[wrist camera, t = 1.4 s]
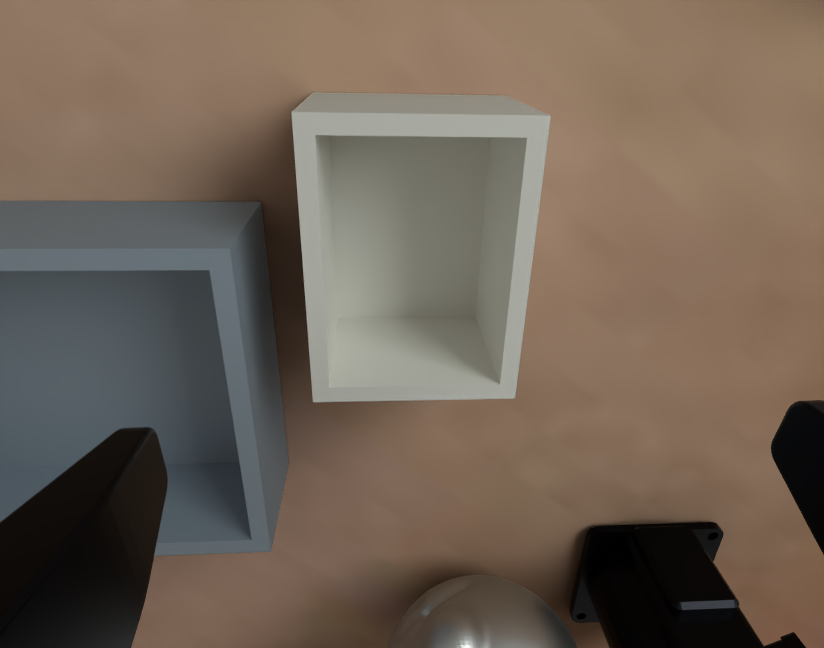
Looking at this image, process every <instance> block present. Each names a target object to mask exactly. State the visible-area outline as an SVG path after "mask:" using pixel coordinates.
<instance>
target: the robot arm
mask: <svg viewBox="0 0 824 648" xmlns="http://www.w3.org/2000/svg"><path fill="white" fill-rule="evenodd" d="M771 453H772V457H773V459H774V461H775V463H776V465H777V467H778V469H779V471H780V473H781V475H782V477H783V479H784V481H785V483H786V484H787V486H788V488H789V490H790V492H791V494H792V496H793V498H794V500H795V502H796V504H797V505H798V507H799V509H800V511H801V513H802V515H803V517H804V519H805V521H806V523H807V525H808V526H809V528H810V530H811V532H812V534H813V536H814V538H815V540H816V542H817V543H818V545H819V547H820V549H821V551H822V552H823V554H824V401H822V400H812V401H798V402H795V403H794V404H792V405H791V406H790V407H789V409H788V410H787V412H786V414H785V416H784V418H783V420H782V422H781V424H780V426H779V428H778V430H777V432H776V434H775V436H774V438H773V441H772V444H771ZM167 486H168V475H167V469H166V465H165V462H164V458H163V454H162V450H161V447H160V443H159V439H158V436H157V433H156V432H155V430H154V429H153V428H150V427H131V428H121V429H118V430H117V431H115V432H114V433H112V434H111V435H110V436H109V437H107V438H106V439H105V440H104V441H102V442H101V443H100V444H98V445H97V446H96V447H95V448H93V449H92V450H91V451H90V452H88V453H87V454H86V455H85V456H83V457H82V458H81V459H79V460H78V461H77V462H76V463H74V464H73V465H72V466H71V467H69V468H68V469H67V470H66V471H64V472H63V473H62V474H60V475H59V476H58V477H57V478H55V479H54V480H53V481H52V482H50V483H49V484H48V485H47V486H45V487H44V488H43V489H41V490H40V491H39V492H38V493H36V494H35V495H34V496H33V497H31V498H30V499H29V500H28V501H26V502H25V503H24V504H22V505H21V506H20V507H19V508H17V509H16V510H15V511H14V512H12V513H11V514H10V515H9V516H7V517H6V518H5V519H3V520H2V521H1V522H0V648H131V645H132V642H133V639H134V636H135V633H136V630H137V626H138V623H139V620H140V616H141V613H142V609H143V606H144V602H145V598H146V593H147V589H148V584H149V579H150V574H151V569H152V564H153V559H154V554H155V549H156V544H157V539H158V534H159V529H160V523H161V518H162V513H163V508H164V503H165V498H166V493H167ZM722 537H723V531H722V530H721V528H720V527H719V526H718V524H716V523H714V522H701V523H672V524H643V525H613V526H596V527H593V528H591V529H590V530H589V531H588V532H587V535H586V539H585V544H584V548H583V552H582V557H581V561H580V566H579V570H578V574H577V579H576V583H575V587H574V592H573V596H572V601H571V605H570V609H569V611H570V615H571V618H572V620H573V621H575V622H579V623H582V622H600V625H601V627H602V630H603V632H604V635H605V638H606V640H607V643H608V645H609V648H806V647H805V646H804V645H803V643H802V642H801V641H800V639H799V638H798V637H797V635H796V634H795V633H794V632H792V633H790V634H787V635H784V636H782V637H780V638H781V640H779V641H777V642H774V643H771V644H769V645H766V646H763V644H762V642H761V641H760V639H759V638H758V636H757V635H756V633H755V631H754V630H753V628H752V627H751V625H750V624H749V622H748V621H747V619H746V617H745V616H744V614H743V613H742V611H741V610H740V608H739V602H738V600H737V598H736V597H735V595H734V594H733V592H732V590H731V589H730V587H729V586H728V584H727V583H726V581H725V580H724V578H723V577H722V575H721V573H720V572H719V570H718V569H717V567H716V566H715V564H714V563H713V561H714V558H715V555H716V553H717V550H718V548H719V545H720V543H721V540H722Z"/></svg>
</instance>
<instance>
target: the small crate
mask: <svg viewBox="0 0 824 648" xmlns="http://www.w3.org/2000/svg"><path fill="white" fill-rule="evenodd" d="M291 113H292V126H293V140H294V153H295V167H296V180H297V194H298V207H299V221H300V234H301V248H302V261H303V275H304V288H305V301H306V315H307V328H308V342H309V355H310V369H311V382H312V396H313V402H351V401H404V400H457V399H510V398H515V394H516V386H517V378H518V370H519V362H520V354H521V346H522V338H523V330H524V322H525V314H526V307H527V299H528V291H529V283H530V275H531V267H532V259H533V251H534V243H535V235H536V227H537V219H538V212H539V204H540V196H541V188H542V180H543V172H544V164H545V156H546V148H547V140H548V132H549V125H550V117H551V116H550V115H548V114H546V113H544V112H541V111H539V110H537V109H535V108H532V107H530V106H528V105H526V104H524V103H521V102H519V101H517V100H515V99H512V98H510V97H508V96H505V95H442V94H380V93H318V92H313V93H312V94H310V95H309V96H308V97H307V98H306V99H305V100H304V101H303V102H302V103H301V104H300V105H299V106H297V107H296V108H295V109H294V110H293V111H292V112H291Z"/></svg>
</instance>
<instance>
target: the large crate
mask: <svg viewBox="0 0 824 648" xmlns="http://www.w3.org/2000/svg"><path fill="white" fill-rule="evenodd" d="M131 427H150V428H153V429H154V430H155V432H156V433H157V436H158V439H159V443H160V447H161V450H162V454H163V458H164V462H165V465H166V469H167V475H168V486H167V493H166V498H165V503H164V508H163V513H162V518H161V523H160V529H159V534H158V539H157V544H156V549H155V554H154V556H162V555H190V554H218V553H246V552H271V549H272V544H273V539H274V534H275V529H276V524H277V519H278V514H279V509H280V504H281V499H282V494H283V489H284V484H285V479H286V474H287V469H288V464H289V461H288V451H287V442H286V432H285V423H284V413H283V404H282V394H281V385H280V375H279V366H278V356H277V346H276V337H275V327H274V318H273V308H272V299H271V289H270V280H269V270H268V261H267V251H266V241H265V232H264V222H263V213H262V203H261V202H179V201H0V522H1V521H2V520H3V519H5V518H6V517H7V516H9V515H10V514H11V513H12V512H14V511H15V510H16V509H17V508H19V507H20V506H21V505H22V504H24V503H25V502H26V501H28V500H29V499H30V498H31V497H33V496H34V495H35V494H36V493H38V492H39V491H40V490H41V489H43V488H44V487H45V486H47V485H48V484H49V483H50V482H52V481H53V480H54V479H55V478H57V477H58V476H59V475H60V474H62V473H63V472H64V471H66V470H67V469H68V468H69V467H71V466H72V465H73V464H74V463H76V462H77V461H78V460H79V459H81V458H82V457H83V456H85V455H86V454H87V453H88V452H90V451H91V450H92V449H93V448H95V447H96V446H97V445H98V444H100V443H101V442H102V441H104V440H105V439H106V438H107V437H109V436H110V435H111V434H112V433H114V432H115V431H117V430H118V429H121V428H131Z"/></svg>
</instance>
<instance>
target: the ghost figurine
mask: <svg viewBox="0 0 824 648" xmlns="http://www.w3.org/2000/svg"><path fill="white" fill-rule="evenodd" d="M386 648H577V646H576V643H575V641H574V639H573V638H572V636H571V634H570V632H569V631H568V629H567V628H566V626H565V625H564V623H563V622H562V620H561V619H560V618H559V617H558V615H557V614H556V613H555V612H554V611H553V610H552V609H551V608H550V607H549V606H548V605H547V604H546V603H545V602H544V601H543V600H542V599H541V598H539V597H538V596H537V595H535V594H534V593H533V592H531V591H530V590H528V589H526V588H525V587H523V586H521V585H519V584H517V583H514V582H512V581H509V580H507V579H503V578H500V577H495V576H489V575H467V576H461V577H456V578H453V579H450V580H447V581H444V582H442V583H440V584H438V585H436V586H434V587H433V588H431V589H429V590H428V591H426V592H425V593H424V594H423V595H421V596H420V597H419V598H418V599H417V600H416V601H415V602H414V603H413V604H412V605H411V606H410V607H409V609H408V610H407V611H406V613H405V614H404V615H403V617H402V618H401V620H400V621H399V623H398V625H397V626H396V628H395V630H394V632H393V634H392V636H391V638H390V640H389V643H388V646H387V647H386Z"/></svg>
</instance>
